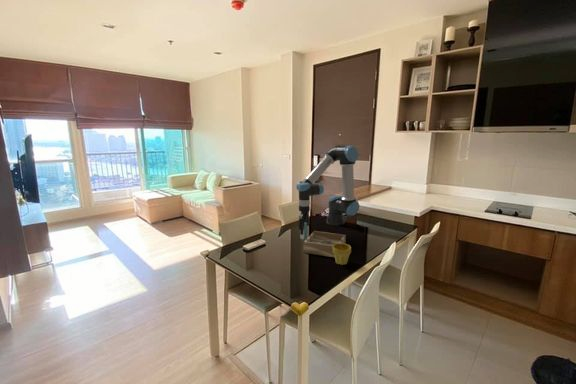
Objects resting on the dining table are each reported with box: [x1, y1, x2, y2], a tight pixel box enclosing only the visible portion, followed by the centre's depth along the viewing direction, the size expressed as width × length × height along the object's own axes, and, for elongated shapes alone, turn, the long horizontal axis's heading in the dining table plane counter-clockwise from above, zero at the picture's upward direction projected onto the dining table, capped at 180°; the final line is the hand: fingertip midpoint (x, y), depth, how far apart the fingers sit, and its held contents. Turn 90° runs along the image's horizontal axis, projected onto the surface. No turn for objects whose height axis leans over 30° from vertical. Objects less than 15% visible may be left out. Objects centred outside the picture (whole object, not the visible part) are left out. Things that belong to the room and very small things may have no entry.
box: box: [303, 230, 347, 258], centre depth 178 cm, size 22×22×7 cm
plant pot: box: [333, 243, 352, 266], centre depth 158 cm, size 10×10×10 cm
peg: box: [301, 223, 308, 241], centre depth 194 cm, size 4×4×12 cm
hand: (304, 236), depth 195 cm, fingers open, 8 cm apart
